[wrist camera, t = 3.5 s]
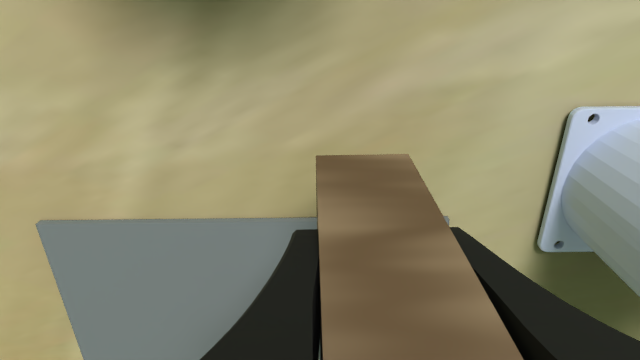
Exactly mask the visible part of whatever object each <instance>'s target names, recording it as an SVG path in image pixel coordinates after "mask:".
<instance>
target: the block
mask: <svg viewBox="0 0 640 360" xmlns="http://www.w3.org/2000/svg"><path fill="white" fill-rule="evenodd" d="M316 195H317V229H318V238H319V291H320V357H321V360H524V359H523V358H522V356H521V354H520V352H519V351H518V349H517V347H516V345H515V343H514V342H513V340H512V338H511V336H510V334H509V333H508V331H507V329H506V327H505V326H504V324H503V322H502V320H501V318H500V317H499V315H498V313H497V311H496V310H495V308H494V306H493V304H492V302H491V301H490V299H489V297H488V295H487V293H486V292H485V290H484V288H483V286H482V285H481V283H480V281H479V279H478V277H477V276H476V274H475V272H474V270H473V268H472V267H471V265H470V263H469V261H468V260H467V258H466V256H465V254H464V252H463V251H462V249H461V247H460V245H459V244H458V242H457V240H456V238H455V236H454V235H453V233H452V231H451V229H450V227H449V226H448V224H447V222H446V220H445V219H444V217H443V215H442V213H441V211H440V210H439V208H438V206H437V204H436V202H435V201H434V199H433V197H432V195H431V194H430V192H429V190H428V188H427V186H426V185H425V183H424V181H423V179H422V178H421V176H420V174H419V172H418V170H417V169H416V167H415V165H414V163H413V161H412V160H411V158H410V156H409V154H386V155H325V156H316Z"/></svg>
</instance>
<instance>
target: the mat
mask: <svg viewBox="0 0 640 360" xmlns="http://www.w3.org/2000/svg"><path fill="white" fill-rule="evenodd" d="M443 217H444V219H445V220H446V222H447V224H448V226H449V218H448V216H443ZM36 227H37V230H38V233H39V235H40V238H41V241H42V244H43V247H44V249H45V252H46V255H47V258H48V261H49V263H50V266H51V269H52V272H53V275H54V278H55V280H56V283H57V286H58V289H59V292H60V294H61V297H62V300H63V303H64V306H65V308H66V311H67V314H68V317H69V320H70V322H71V325H72V328H73V331H74V334H75V336H76V339H77V342H78V345H79V348H80V350H81V353H82V356H83V359H84V360H200V359H201V358H202V357H203V356H204V355H205V354H206V353H207V352H208V351H209V350H210V349H211V348H212V347H213V346H214V345H215V344H216V343H217V342H218V341H219V340H220V339H221V338H222V337H223V336H224V335H225V334H226V333H227V332H228V331H229V330H230V329H231V327H232V326H233V325H234V324H235V323H236V322H237V321H238V319H239V318H240V317H241V316H242V315H243V314H244V312H245V311H246V310H247V309H248V307H249V306H250V305H251V304H252V302H253V301H254V300H255V298H256V297H257V295H258V294H259V293H260V291H261V290H262V288H263V287H264V285H265V284H266V283H267V281H268V280H269V278H270V277H271V275H272V273H273V272H274V270H275V268H276V267H277V265H278V263H279V262H280V260H281V258H282V256H283V254H284V252H285V250H286V248H287V246H288V244H289V242H290V239H291V236H292V233H293V232H295V231H296V230H304V229H317V218H229V219H133V220H40V221H39V222H38V223H37V224H36ZM319 350H320V345H319ZM320 360H321V357H320Z"/></svg>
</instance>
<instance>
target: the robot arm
mask: <svg viewBox="0 0 640 360" xmlns="http://www.w3.org/2000/svg"><path fill="white" fill-rule="evenodd" d="M592 114H594V116H595V117H594V118H593V120H591V121H590V122H588V118H589V116H591V115H592ZM450 229H451V231H452V233H453V235H454V236H455V238H456V240H457V242H458V244H459V245H460V247H461V249H462V251H463V252H464V254H465V256H466V258H467V260H468V261H469V263H470V265H471V267H472V268H473V270H474V272H475V274H476V276H477V277H478V279H479V281H480V283H481V285H482V286H483V288H484V290H485V292H486V293H487V295H488V297H489V299H490V301H491V302H492V304H493V306H494V308H495V310H496V311H497V313H498V315H499V317H500V318H501V320H502V322H503V324H504V326H505V327H506V329H507V331H508V333H509V334H510V336H511V338H512V340H513V342H514V343H515V345H516V347H517V349H518V351H519V352H520V354H521V356H522V358H523V359H524V360H640V341H638V340H636V339H634V338H632V337H630V336H627V335H625V334H623V333H621V332H619V331H617V330H615V329H613V328H611V327H609V326H607V325H606V324H604V323H602V322H600V321H598V320H596V319H595V318H593V317H591V316H589V315H587V314H586V313H584V312H582V311H580V310H578V309H577V308H575V307H573V306H571V305H570V304H568V303H566V302H565V301H563V300H561V299H560V298H558V297H556V296H555V295H553V294H552V293H550V292H549V291H547V290H546V289H544V288H542V287H541V286H539V285H538V284H536V283H535V282H533V281H532V280H530V279H529V278H527V277H526V276H524V275H523V274H522V273H520V272H519V271H517V270H516V269H515V268H513V267H512V266H510V265H509V264H508V263H506V262H505V261H503V260H502V259H501V258H499V257H498V256H497V255H495V254H494V253H493V252H491V251H490V250H489V249H487V248H486V247H485V246H483V245H482V244H481V243H479V242H478V241H477V240H475V239H474V238H473V237H471V236H470V235H469V234H467V233H466V232H464V231H463V230H461V229H460V228H458V227H450ZM557 241H560V242H559V243H558V244H556V245H554V244H555V243H556V242H557ZM537 245H538V246H539V248H540V249H541V250H542V251H544V252H595V253H596V254H597V255H598V256H599V257H600V258H601V259H602V260H603V261H604V262H605V263H606V264H607V265H608V266H609V267H610V268H611V269H612V270H613V271H614V272H615V273H616V274H617V275H618V276H619V277H620V278H621V279H622V280H623V281H624V282H625V283H626V284H627V285H628V286H629V287H630V288H631V289H632V290H633V291H634V292H635V293H636V294H637V295H638V296H639V297H640V106H604V107H578V108H576V109H574V110H573V111H572V112H571V113H570V114H569V116H568V120H567V124H566V128H565V132H564V136H563V140H562V144H561V148H560V152H559V156H558V160H557V164H556V168H555V172H554V176H553V180H552V184H551V188H550V193H549V197H548V201H547V205H546V209H545V213H544V217H543V221H542V225H541V229H540V233H539V237H538V241H537ZM319 345H320V291H319V238H318V229H304V230H296V231H295V232H293V233H292V236H291V239H290V242H289V244H288V246H287V248H286V250H285V252H284V254H283V256H282V258H281V260H280V262H279V263H278V265H277V267H276V268H275V270H274V272H273V273H272V275H271V277H270V278H269V280H268V281H267V283H266V284H265V285H264V287H263V288H262V290H261V291H260V293H259V294H258V295H257V297H256V298H255V300H254V301H253V302H252V304H251V305H250V306H249V307H248V309H247V310H246V311H245V312H244V314H243V315H242V316H241V317H240V318H239V319H238V321H237V322H236V323H235V324H234V325H233V326H232V327H231V329H230V330H229V331H228V332H227V333H226V334H225V335H224V336H223V337H222V338H221V339H220V340H219V341H218V342H217V343H216V344H215V345H214V346H213V347H212V348H211V349H210V350H209V351H208V352H207V353H206V354H205V355H204V356H203V357H202V358H201V359H200V360H318V359H319Z"/></svg>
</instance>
